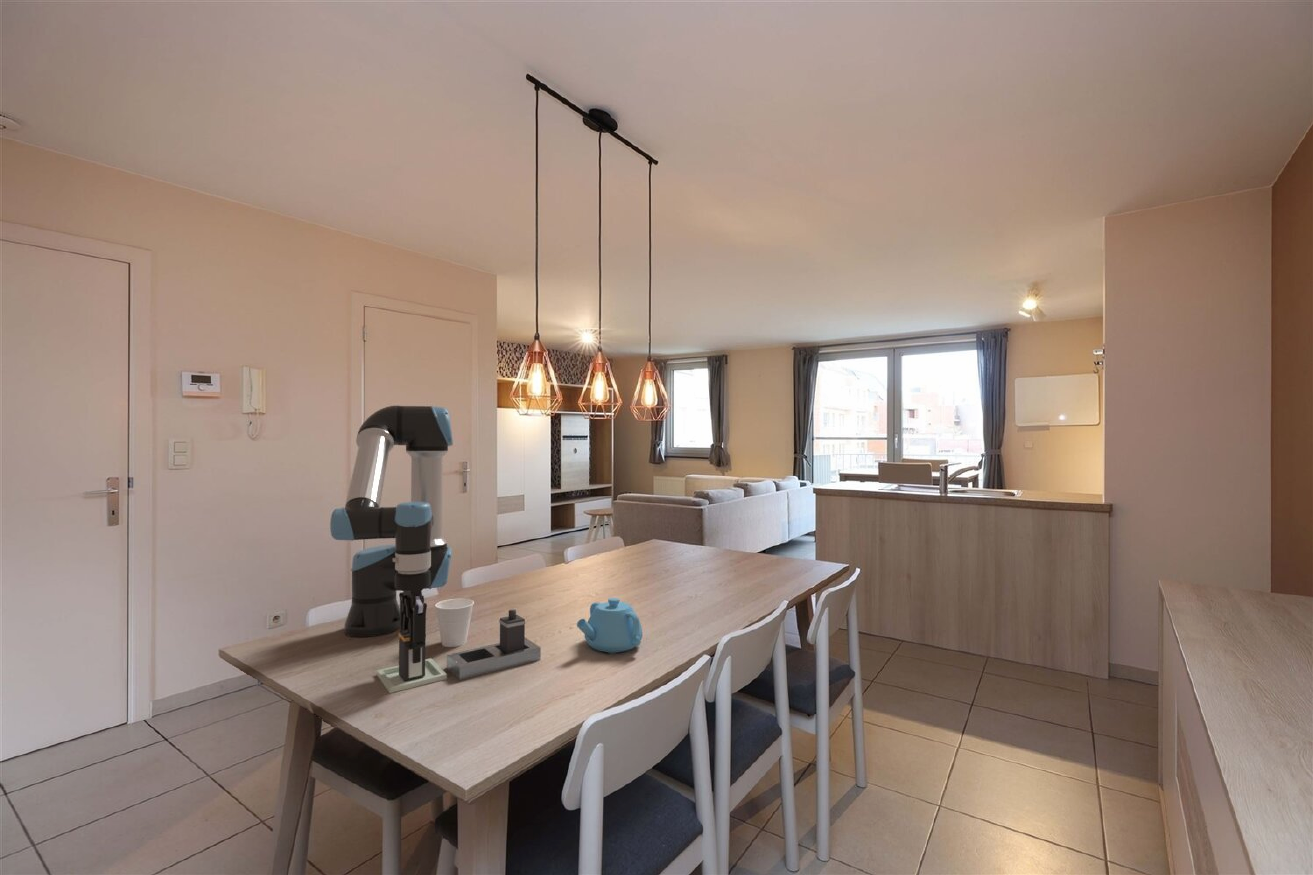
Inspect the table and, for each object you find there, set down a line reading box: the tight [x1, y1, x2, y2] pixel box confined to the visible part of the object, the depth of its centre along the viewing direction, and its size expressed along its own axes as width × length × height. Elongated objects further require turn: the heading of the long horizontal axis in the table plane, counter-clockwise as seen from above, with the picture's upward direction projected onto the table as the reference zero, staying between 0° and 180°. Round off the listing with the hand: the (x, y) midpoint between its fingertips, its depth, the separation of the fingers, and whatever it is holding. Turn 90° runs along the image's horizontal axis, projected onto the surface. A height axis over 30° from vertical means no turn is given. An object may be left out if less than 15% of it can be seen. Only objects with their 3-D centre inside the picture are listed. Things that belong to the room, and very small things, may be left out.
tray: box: [376, 657, 448, 694], centre depth 129 cm, size 12×12×2 cm
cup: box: [434, 598, 475, 648], centre depth 150 cm, size 10×10×11 cm
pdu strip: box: [446, 637, 542, 681], centre depth 137 cm, size 9×20×4 cm, turn 128°
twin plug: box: [498, 609, 526, 654], centre depth 139 cm, size 5×5×12 cm
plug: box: [398, 623, 426, 681], centre depth 129 cm, size 5×5×12 cm
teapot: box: [576, 597, 643, 655], centre depth 148 cm, size 20×20×13 cm
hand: (411, 671), depth 129 cm, fingers closed on plug, 4 cm apart
